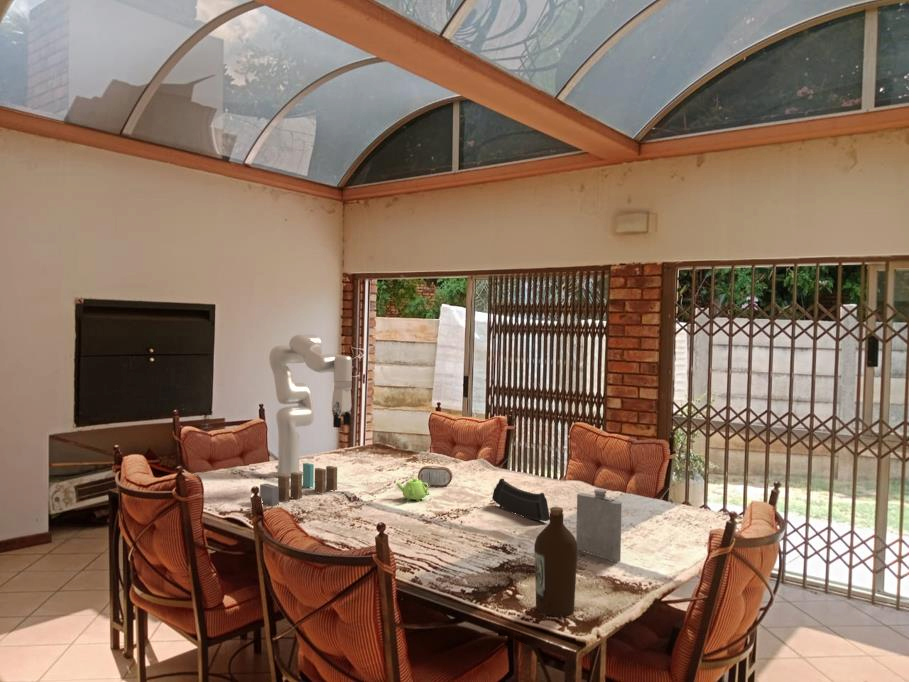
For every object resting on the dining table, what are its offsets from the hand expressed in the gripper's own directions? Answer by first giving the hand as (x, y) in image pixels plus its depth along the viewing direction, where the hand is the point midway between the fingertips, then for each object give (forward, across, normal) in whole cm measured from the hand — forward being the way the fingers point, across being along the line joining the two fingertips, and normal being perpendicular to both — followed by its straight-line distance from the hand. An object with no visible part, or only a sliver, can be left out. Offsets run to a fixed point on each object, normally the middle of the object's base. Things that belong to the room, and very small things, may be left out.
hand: (342, 425), depth 293 cm
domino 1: (+27, +23, -14) cm, 38 cm away
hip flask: (+27, +51, +110) cm, 124 cm away
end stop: (+27, +29, -17) cm, 43 cm away
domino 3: (+27, -1, -16) cm, 32 cm away
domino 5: (+27, +1, -4) cm, 28 cm away
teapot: (+28, +5, +33) cm, 43 cm away
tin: (+28, -21, +35) cm, 49 cm away
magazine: (+28, +13, +78) cm, 84 cm away
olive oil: (+27, +98, +102) cm, 144 cm away
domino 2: (+27, +18, -12) cm, 34 cm away
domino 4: (+27, +7, -6) cm, 29 cm away
